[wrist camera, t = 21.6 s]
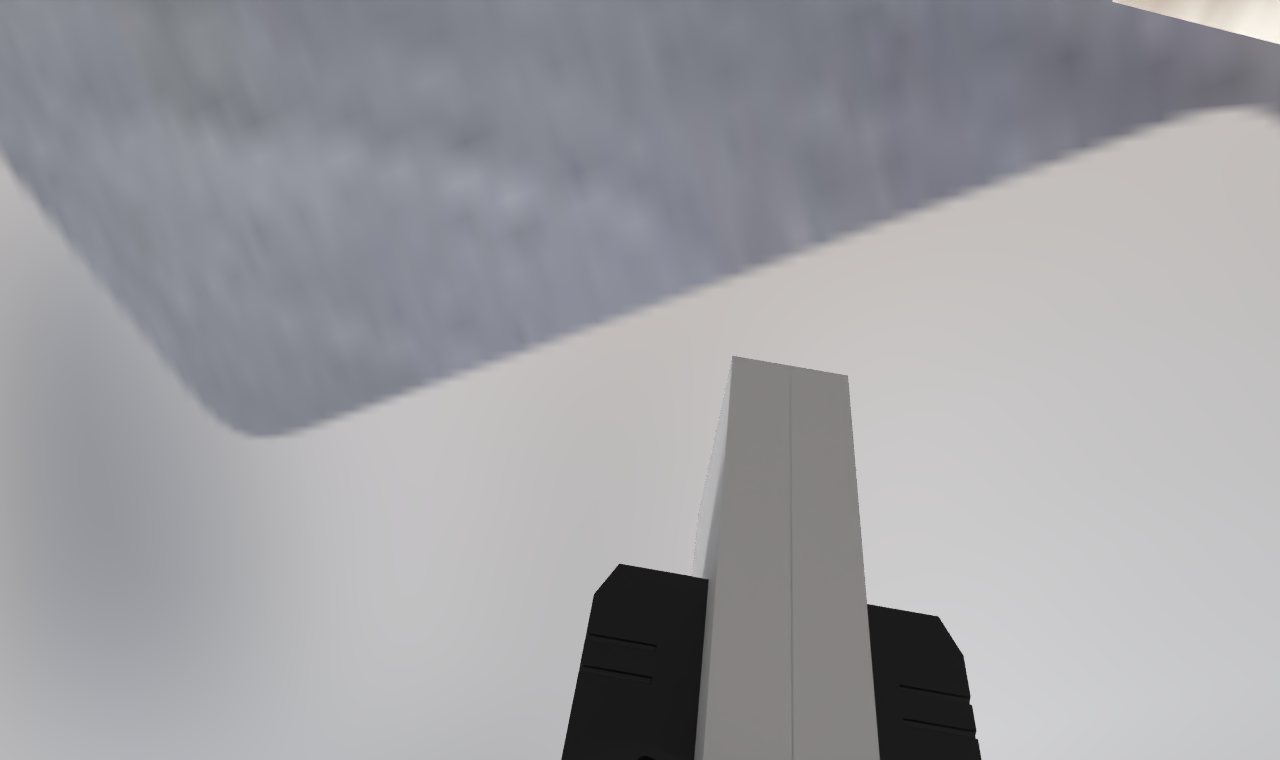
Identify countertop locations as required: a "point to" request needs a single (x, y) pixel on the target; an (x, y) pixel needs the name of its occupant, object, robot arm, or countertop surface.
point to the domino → (1222, 14)
